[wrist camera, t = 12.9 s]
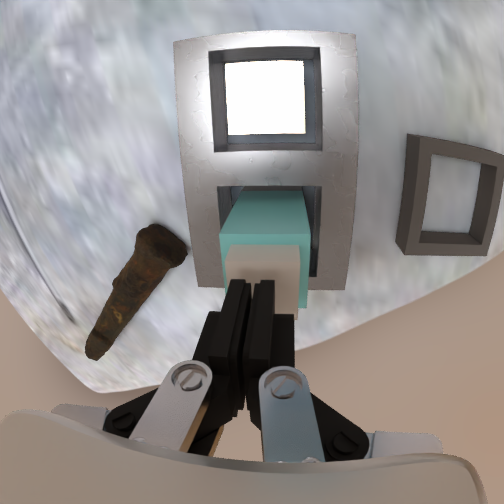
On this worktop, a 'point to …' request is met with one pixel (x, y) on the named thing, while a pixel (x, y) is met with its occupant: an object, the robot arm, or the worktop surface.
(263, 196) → the plug
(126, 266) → the hand tool
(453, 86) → the worktop surface
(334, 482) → the robot arm
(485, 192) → the dark square frame
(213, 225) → the port
